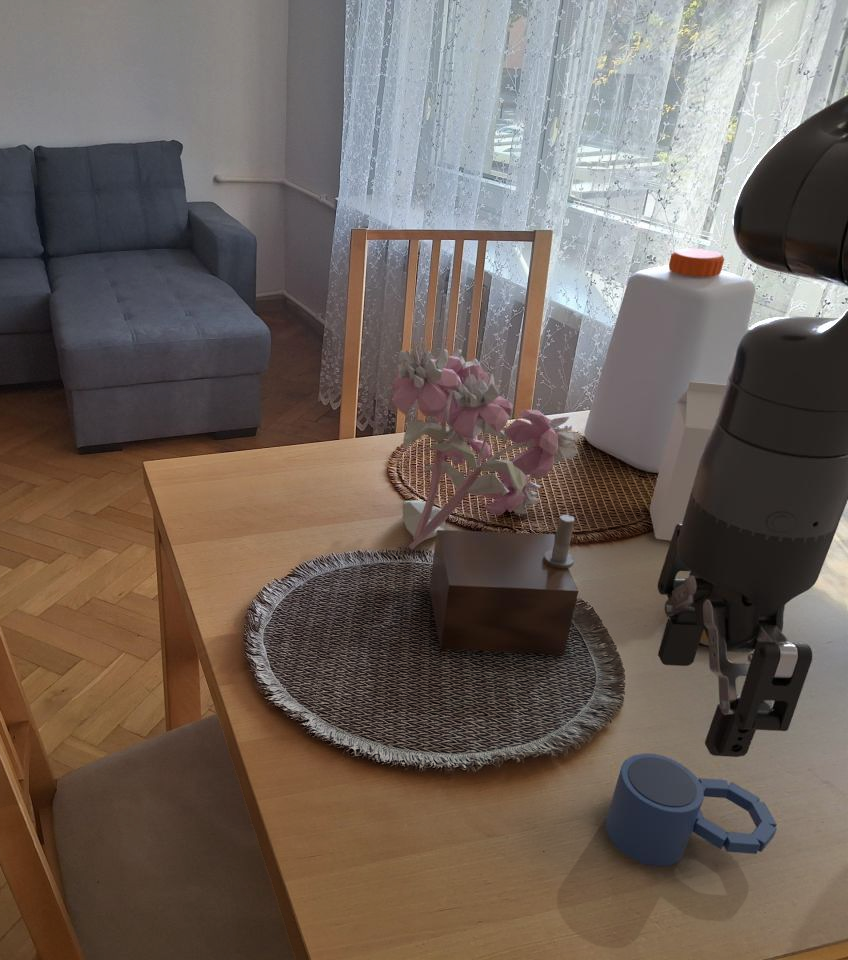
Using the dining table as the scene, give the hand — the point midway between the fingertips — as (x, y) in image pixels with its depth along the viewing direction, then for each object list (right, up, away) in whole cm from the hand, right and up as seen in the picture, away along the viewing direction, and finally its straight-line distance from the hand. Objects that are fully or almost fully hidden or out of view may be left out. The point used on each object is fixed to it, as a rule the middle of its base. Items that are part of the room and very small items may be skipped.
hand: (697, 704), depth 58 cm
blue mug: (+3, -13, +8) cm, 15 cm away
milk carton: (+25, +9, +46) cm, 53 cm away
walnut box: (-3, 0, +32) cm, 32 cm away
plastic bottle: (+30, +20, +65) cm, 74 cm away
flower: (0, +10, +50) cm, 51 cm away
